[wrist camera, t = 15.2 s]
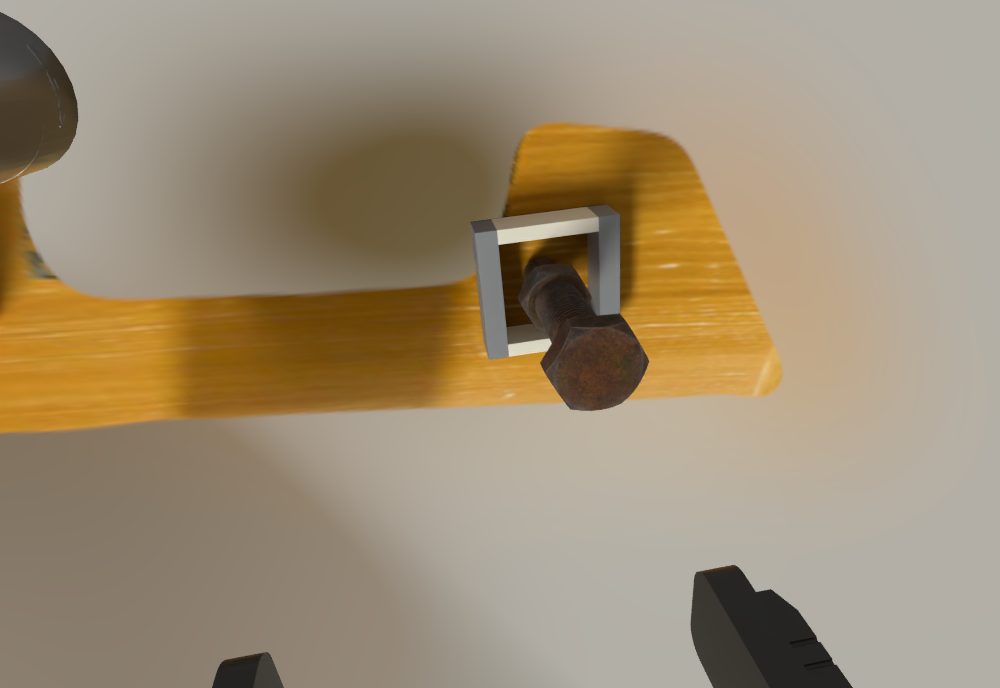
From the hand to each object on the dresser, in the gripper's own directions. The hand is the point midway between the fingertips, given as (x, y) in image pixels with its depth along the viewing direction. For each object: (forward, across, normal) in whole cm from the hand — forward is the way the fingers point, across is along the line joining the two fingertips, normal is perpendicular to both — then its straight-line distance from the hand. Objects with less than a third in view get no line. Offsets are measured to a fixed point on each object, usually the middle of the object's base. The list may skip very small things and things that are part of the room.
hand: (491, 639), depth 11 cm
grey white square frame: (+34, -8, +6) cm, 36 cm away
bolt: (+34, -8, +6) cm, 36 cm away
